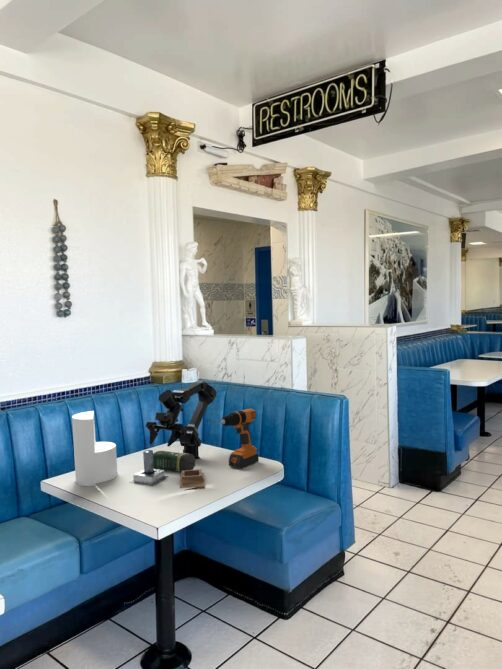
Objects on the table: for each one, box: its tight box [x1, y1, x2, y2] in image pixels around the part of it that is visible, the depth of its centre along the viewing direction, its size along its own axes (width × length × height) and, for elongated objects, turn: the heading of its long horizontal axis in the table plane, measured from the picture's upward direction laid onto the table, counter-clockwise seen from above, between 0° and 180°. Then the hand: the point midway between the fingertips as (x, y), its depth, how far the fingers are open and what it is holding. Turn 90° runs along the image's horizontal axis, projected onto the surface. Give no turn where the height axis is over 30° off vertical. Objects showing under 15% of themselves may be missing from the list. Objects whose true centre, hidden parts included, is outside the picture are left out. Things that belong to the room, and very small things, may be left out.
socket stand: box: [128, 469, 170, 487], centre depth 216 cm, size 12×12×4 cm
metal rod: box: [142, 449, 154, 475], centre depth 216 cm, size 4×4×12 cm
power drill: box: [220, 408, 260, 469], centre depth 232 cm, size 22×7×25 cm, turn 140°
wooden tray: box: [179, 468, 206, 491], centre depth 214 cm, size 16×10×4 cm, turn 7°
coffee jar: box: [153, 450, 196, 473], centre depth 230 cm, size 10×8×19 cm
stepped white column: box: [71, 410, 118, 487], centre depth 222 cm, size 17×17×28 cm
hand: (159, 445), depth 223 cm, fingers open, 9 cm apart
